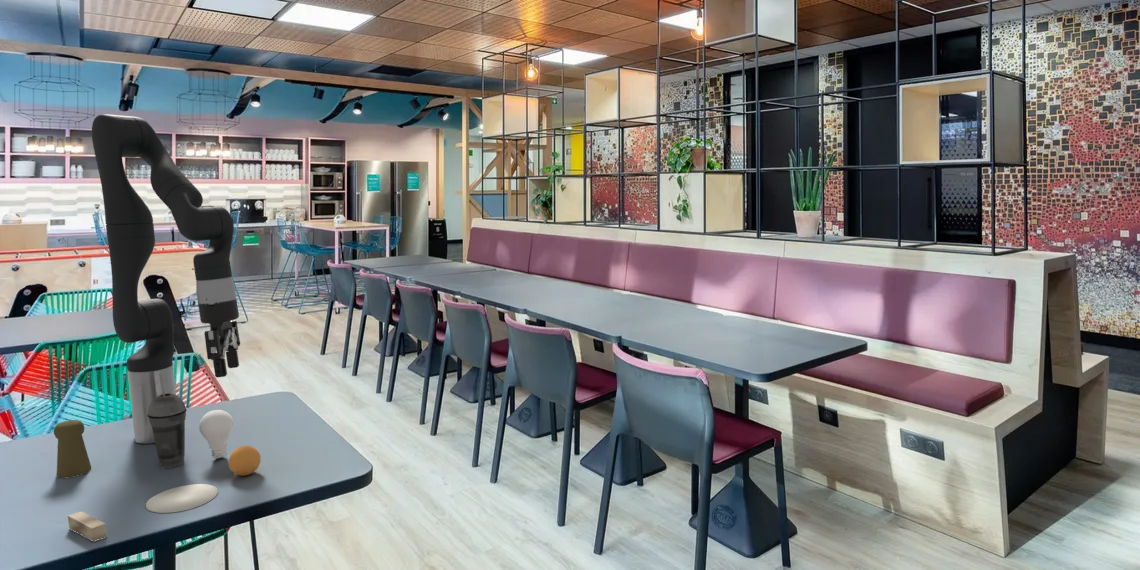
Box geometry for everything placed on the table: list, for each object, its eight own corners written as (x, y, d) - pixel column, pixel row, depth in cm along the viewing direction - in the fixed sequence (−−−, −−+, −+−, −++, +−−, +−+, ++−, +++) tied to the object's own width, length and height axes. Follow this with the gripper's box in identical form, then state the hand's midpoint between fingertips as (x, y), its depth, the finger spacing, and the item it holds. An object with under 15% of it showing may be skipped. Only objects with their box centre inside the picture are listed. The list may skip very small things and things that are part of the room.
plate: (133, 503, 130) (133, 502, 130) (196, 480, 140) (196, 479, 140) (167, 518, 124) (167, 517, 124) (230, 493, 134) (230, 492, 134)
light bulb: (222, 465, 148) (217, 416, 146) (195, 463, 149) (190, 414, 148) (242, 454, 154) (238, 406, 153) (216, 452, 155) (212, 405, 154)
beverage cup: (164, 473, 144) (154, 380, 141) (145, 466, 148) (136, 375, 145) (198, 461, 150) (190, 372, 147) (179, 455, 154) (171, 368, 151)
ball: (223, 476, 142) (221, 448, 141) (250, 466, 147) (248, 439, 146) (240, 482, 139) (238, 454, 138) (267, 472, 144) (265, 444, 143)
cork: (98, 468, 148) (92, 418, 146) (70, 479, 142) (63, 427, 140) (78, 464, 149) (72, 415, 148) (49, 475, 144) (43, 425, 142)
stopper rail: (69, 529, 121) (67, 515, 120) (82, 524, 122) (80, 511, 122) (93, 542, 116) (92, 528, 115) (106, 537, 118) (105, 523, 117)
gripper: (210, 297, 156) (220, 366, 158) (186, 305, 142) (197, 382, 144) (245, 293, 157) (254, 363, 159) (225, 301, 143) (235, 377, 145)
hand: (227, 372), depth 152 cm, fingers open, 8 cm apart
